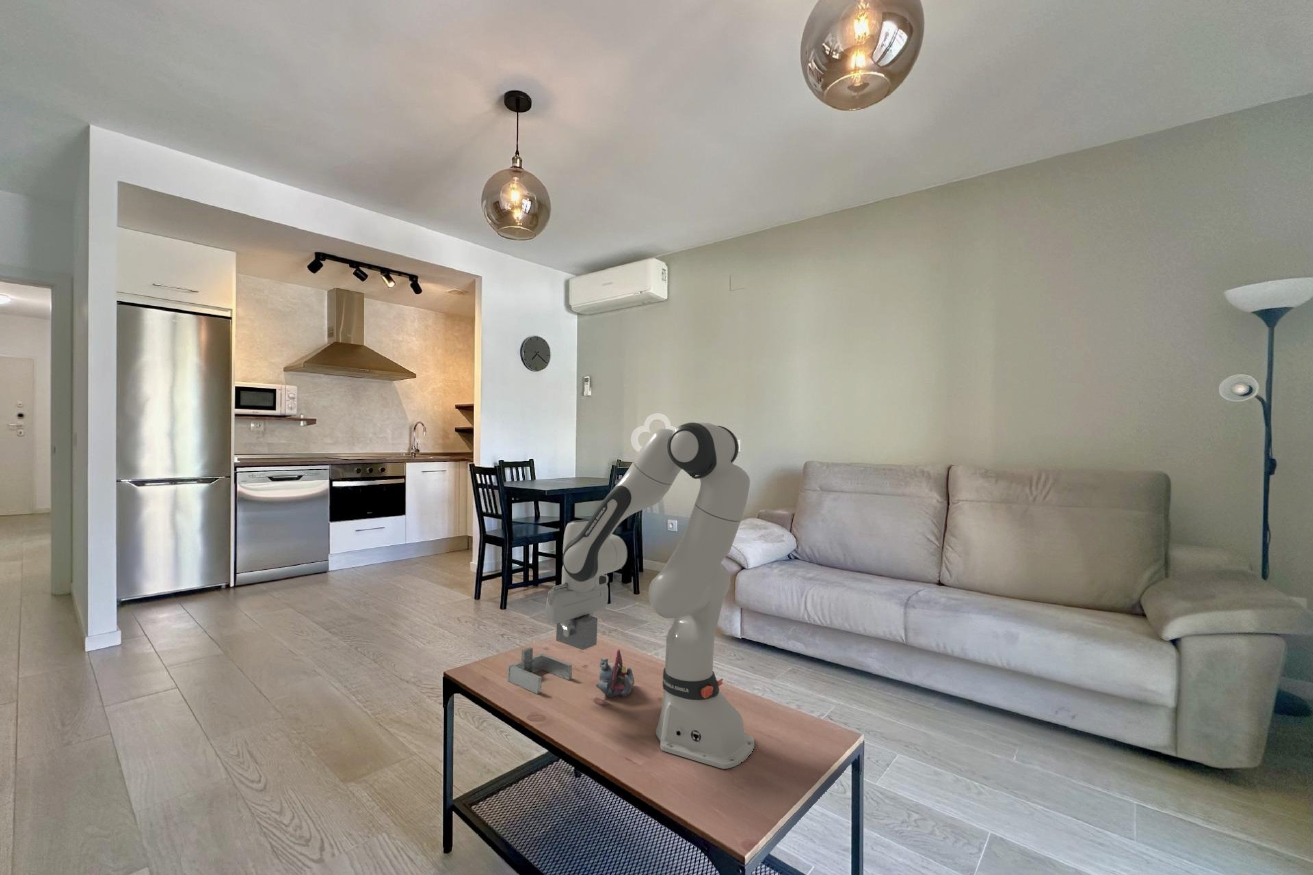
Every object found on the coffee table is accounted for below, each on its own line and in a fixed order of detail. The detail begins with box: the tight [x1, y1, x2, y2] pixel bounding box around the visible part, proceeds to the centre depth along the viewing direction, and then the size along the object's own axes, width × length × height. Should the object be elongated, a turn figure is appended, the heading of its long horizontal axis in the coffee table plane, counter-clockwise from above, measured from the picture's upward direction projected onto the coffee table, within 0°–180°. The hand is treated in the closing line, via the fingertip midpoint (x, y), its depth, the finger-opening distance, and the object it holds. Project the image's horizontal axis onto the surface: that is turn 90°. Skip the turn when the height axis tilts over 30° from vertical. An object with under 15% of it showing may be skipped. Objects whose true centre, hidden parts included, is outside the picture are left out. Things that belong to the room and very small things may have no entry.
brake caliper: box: [595, 649, 635, 698], centre depth 142 cm, size 11×11×12 cm
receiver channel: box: [506, 646, 573, 695], centre depth 147 cm, size 13×12×7 cm
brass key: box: [622, 666, 627, 673], centre depth 153 cm, size 7×3×2 cm, turn 78°
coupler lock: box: [555, 615, 598, 651], centre depth 139 cm, size 10×5×8 cm, turn 53°
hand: (576, 632), depth 139 cm, fingers closed on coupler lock, 5 cm apart
